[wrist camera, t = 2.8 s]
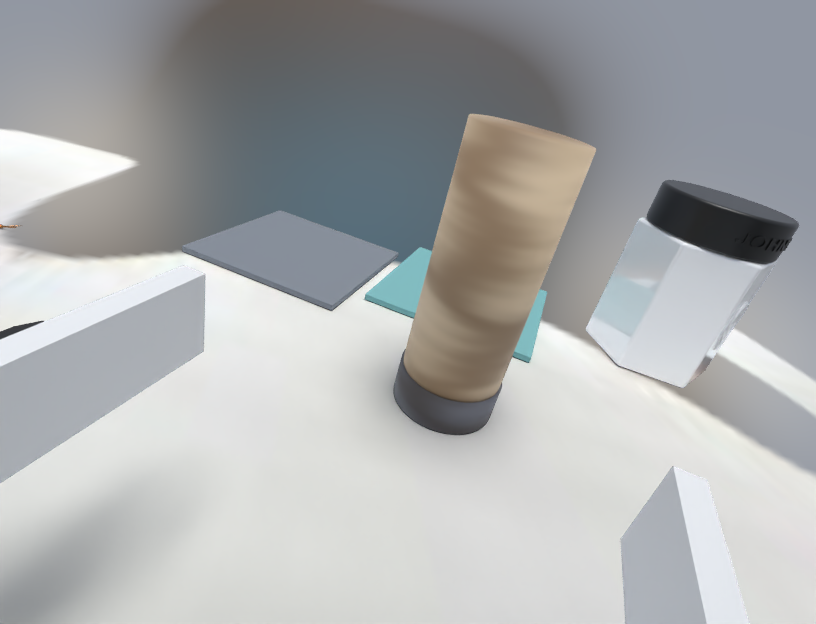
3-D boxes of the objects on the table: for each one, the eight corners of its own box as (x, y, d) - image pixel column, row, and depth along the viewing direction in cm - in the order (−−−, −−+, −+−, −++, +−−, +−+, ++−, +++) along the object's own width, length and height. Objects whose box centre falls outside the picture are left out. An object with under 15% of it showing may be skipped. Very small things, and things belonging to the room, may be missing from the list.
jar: (673, 402, 30) (786, 229, 25) (568, 336, 35) (641, 178, 29) (715, 366, 36) (813, 220, 31) (620, 314, 41) (689, 179, 35)
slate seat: (397, 257, 41) (398, 252, 41) (331, 310, 31) (332, 305, 30) (279, 214, 43) (280, 210, 43) (182, 251, 33) (182, 245, 33)
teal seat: (545, 295, 41) (547, 291, 41) (529, 362, 31) (531, 357, 30) (419, 251, 43) (420, 247, 43) (364, 299, 33) (365, 294, 33)
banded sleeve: (498, 390, 27) (598, 144, 20) (478, 450, 23) (599, 158, 16) (413, 356, 28) (481, 111, 22) (377, 406, 24) (451, 115, 17)
